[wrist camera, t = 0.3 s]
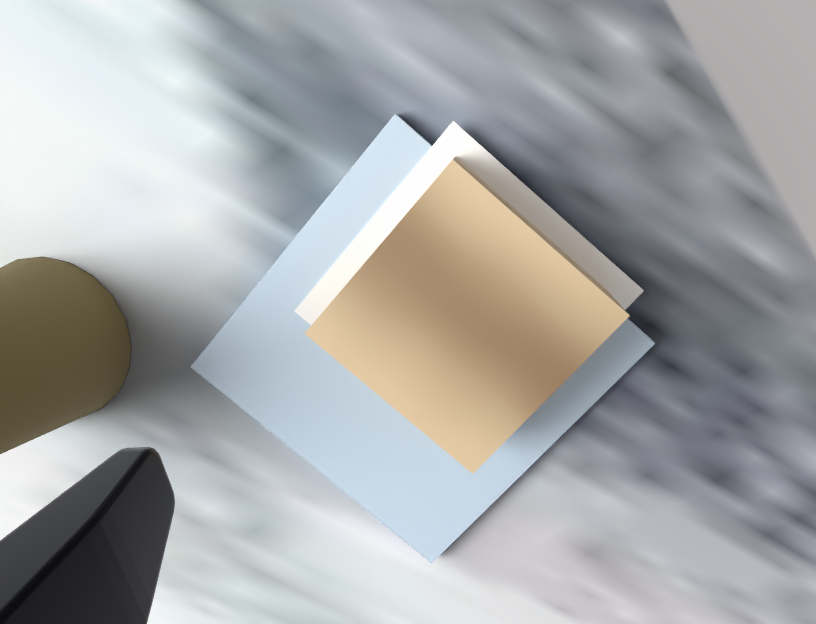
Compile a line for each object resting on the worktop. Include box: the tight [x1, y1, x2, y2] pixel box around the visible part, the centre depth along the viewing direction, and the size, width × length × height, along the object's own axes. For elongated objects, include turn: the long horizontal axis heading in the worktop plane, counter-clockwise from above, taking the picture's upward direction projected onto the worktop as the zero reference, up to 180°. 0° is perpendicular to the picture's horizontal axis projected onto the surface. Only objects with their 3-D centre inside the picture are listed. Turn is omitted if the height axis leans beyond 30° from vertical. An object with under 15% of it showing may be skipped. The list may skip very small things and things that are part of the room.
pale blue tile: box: [190, 114, 655, 563], centre depth 24 cm, size 12×11×1 cm
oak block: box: [304, 156, 630, 474], centre depth 22 cm, size 6×6×3 cm
